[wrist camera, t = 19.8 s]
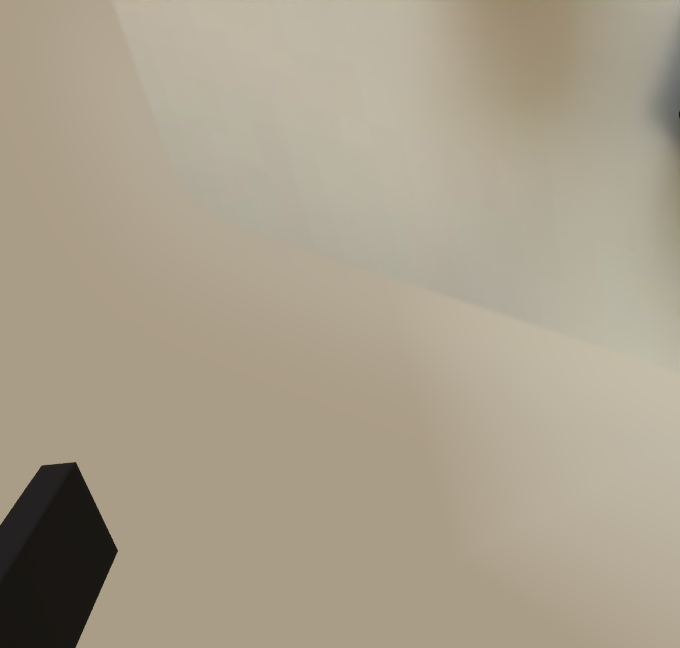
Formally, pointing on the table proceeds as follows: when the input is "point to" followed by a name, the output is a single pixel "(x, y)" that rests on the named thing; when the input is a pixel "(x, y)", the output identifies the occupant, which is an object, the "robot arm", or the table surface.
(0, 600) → the robot arm
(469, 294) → the table surface
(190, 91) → the table surface
